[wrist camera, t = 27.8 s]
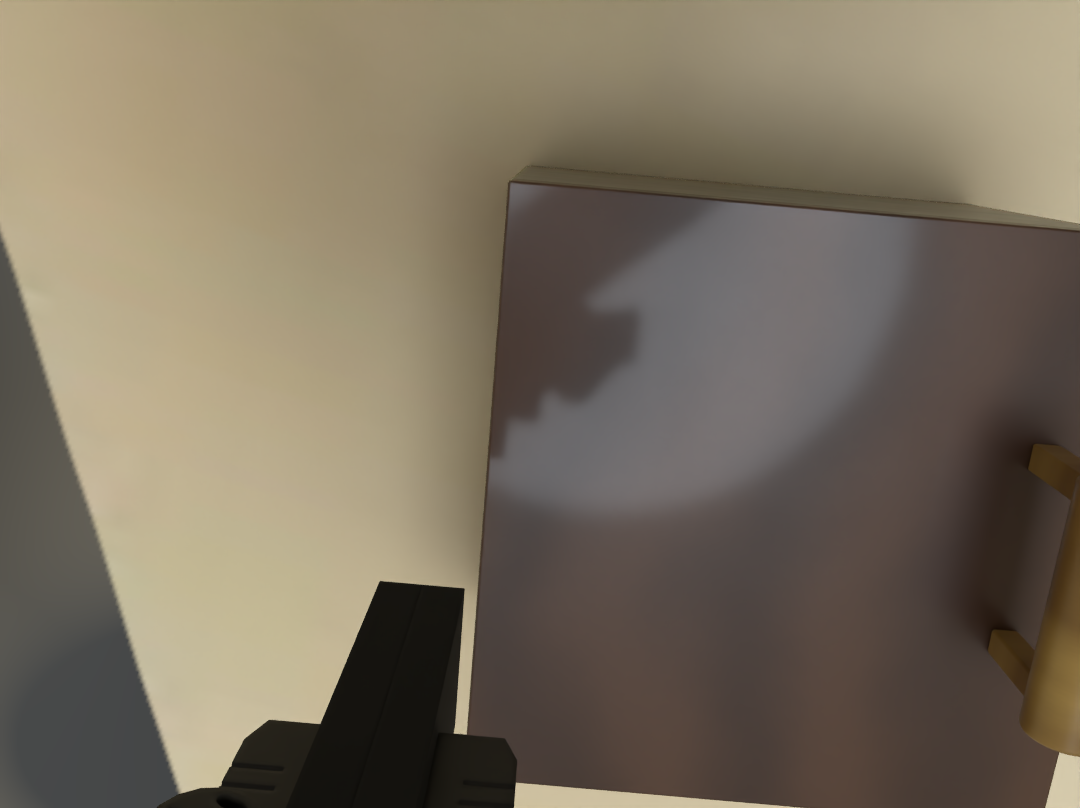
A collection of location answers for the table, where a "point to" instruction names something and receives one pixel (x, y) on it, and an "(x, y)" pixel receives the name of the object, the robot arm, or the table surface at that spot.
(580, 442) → the chest lid
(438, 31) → the table surface
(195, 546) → the table surface
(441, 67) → the table surface
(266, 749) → the robot arm
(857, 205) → the chest
